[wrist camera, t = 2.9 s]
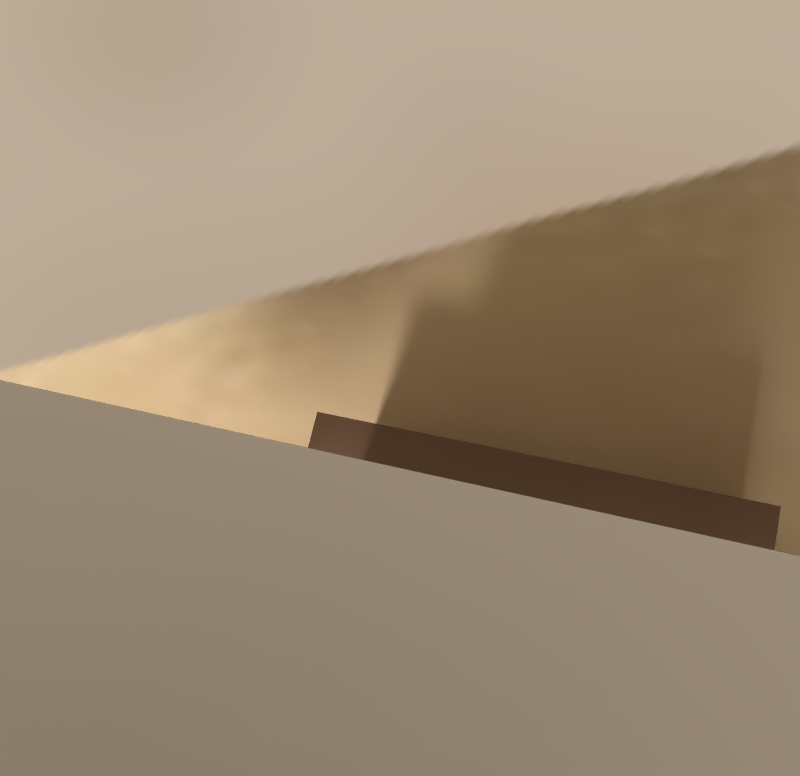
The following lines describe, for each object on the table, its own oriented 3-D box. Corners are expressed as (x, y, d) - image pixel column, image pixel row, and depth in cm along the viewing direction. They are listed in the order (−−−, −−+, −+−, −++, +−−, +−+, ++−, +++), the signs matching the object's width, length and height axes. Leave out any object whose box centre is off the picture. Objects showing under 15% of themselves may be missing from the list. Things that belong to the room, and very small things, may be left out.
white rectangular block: (658, 707, 14) (1226, 1908, 1) (357, 621, 15) (-550, 838, 3) (680, 577, 14) (1269, 660, 2) (384, 506, 16) (-329, 308, 4)
